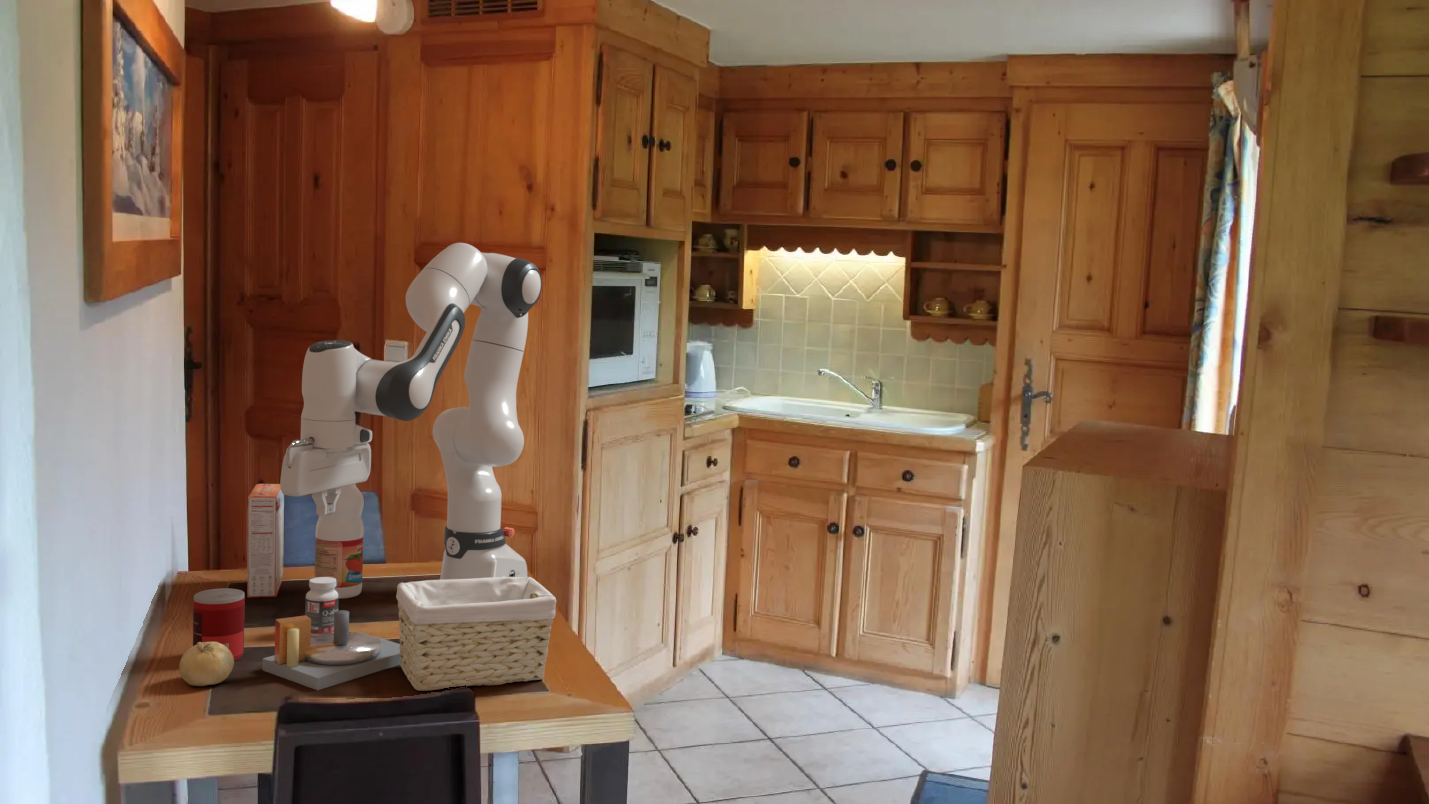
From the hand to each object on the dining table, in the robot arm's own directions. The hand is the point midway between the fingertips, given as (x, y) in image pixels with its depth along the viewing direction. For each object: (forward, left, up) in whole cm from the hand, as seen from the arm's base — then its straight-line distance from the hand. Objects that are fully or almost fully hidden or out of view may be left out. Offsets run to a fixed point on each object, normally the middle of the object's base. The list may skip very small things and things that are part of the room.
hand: (325, 514), depth 195 cm
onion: (+22, 0, -24) cm, 33 cm away
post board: (+3, +9, -24) cm, 26 cm away
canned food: (+14, -9, -24) cm, 30 cm away
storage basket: (-9, +28, -24) cm, 38 cm away
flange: (+5, +8, -22) cm, 24 cm away
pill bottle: (-6, -8, -24) cm, 26 cm away
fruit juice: (-25, -27, -24) cm, 44 cm away
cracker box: (-17, -40, -24) cm, 50 cm away
